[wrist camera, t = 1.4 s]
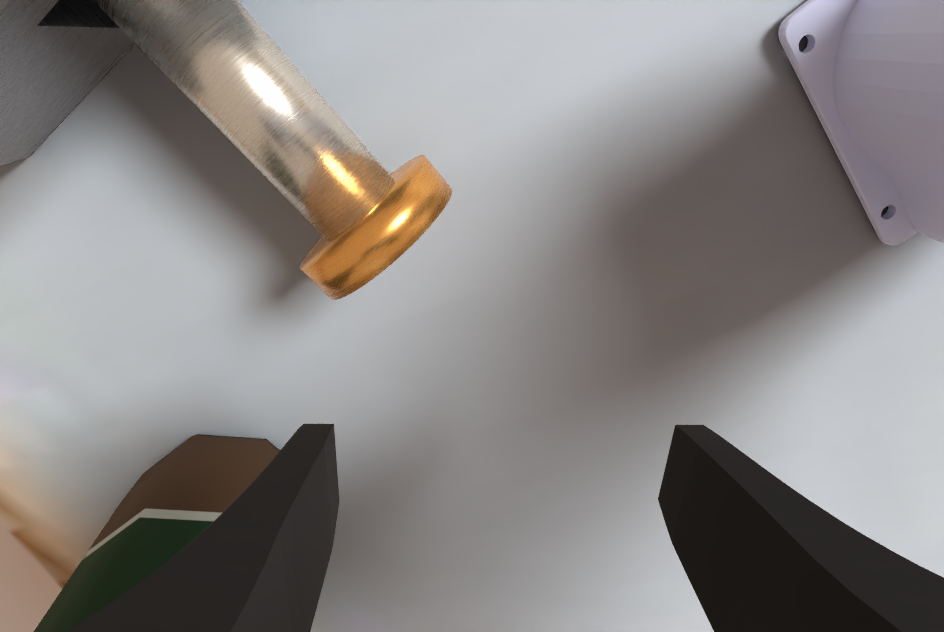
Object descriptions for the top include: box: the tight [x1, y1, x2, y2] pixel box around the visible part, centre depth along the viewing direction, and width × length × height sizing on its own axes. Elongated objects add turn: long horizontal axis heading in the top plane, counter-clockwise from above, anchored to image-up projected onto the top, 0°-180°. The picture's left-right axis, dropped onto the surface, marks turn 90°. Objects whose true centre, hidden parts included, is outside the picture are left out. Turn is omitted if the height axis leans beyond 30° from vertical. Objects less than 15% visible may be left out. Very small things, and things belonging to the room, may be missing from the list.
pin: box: [93, 0, 452, 300], centre depth 15 cm, size 10×5×5 cm, turn 39°
